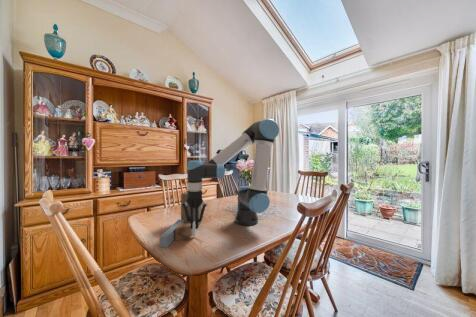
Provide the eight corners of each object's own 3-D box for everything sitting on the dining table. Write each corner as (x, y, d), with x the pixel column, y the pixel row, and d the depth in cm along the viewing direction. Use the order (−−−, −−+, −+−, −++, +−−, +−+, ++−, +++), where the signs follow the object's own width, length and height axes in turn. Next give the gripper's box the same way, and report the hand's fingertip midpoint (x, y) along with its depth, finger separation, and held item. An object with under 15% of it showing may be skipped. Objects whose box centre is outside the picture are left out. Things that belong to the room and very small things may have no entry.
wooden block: (195, 227, 119) (195, 194, 119) (180, 226, 121) (180, 193, 121) (202, 222, 129) (202, 191, 128) (187, 220, 131) (187, 190, 130)
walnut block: (192, 234, 109) (192, 223, 109) (188, 240, 102) (188, 228, 102) (180, 234, 110) (180, 223, 110) (175, 239, 103) (175, 228, 103)
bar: (184, 228, 118) (184, 219, 118) (167, 247, 94) (167, 236, 94) (178, 228, 119) (178, 219, 118) (159, 247, 95) (159, 236, 94)
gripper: (208, 189, 108) (208, 232, 109) (185, 188, 109) (184, 231, 110) (205, 191, 101) (205, 238, 101) (180, 191, 102) (180, 237, 102)
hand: (194, 234), depth 105 cm, fingers closed
